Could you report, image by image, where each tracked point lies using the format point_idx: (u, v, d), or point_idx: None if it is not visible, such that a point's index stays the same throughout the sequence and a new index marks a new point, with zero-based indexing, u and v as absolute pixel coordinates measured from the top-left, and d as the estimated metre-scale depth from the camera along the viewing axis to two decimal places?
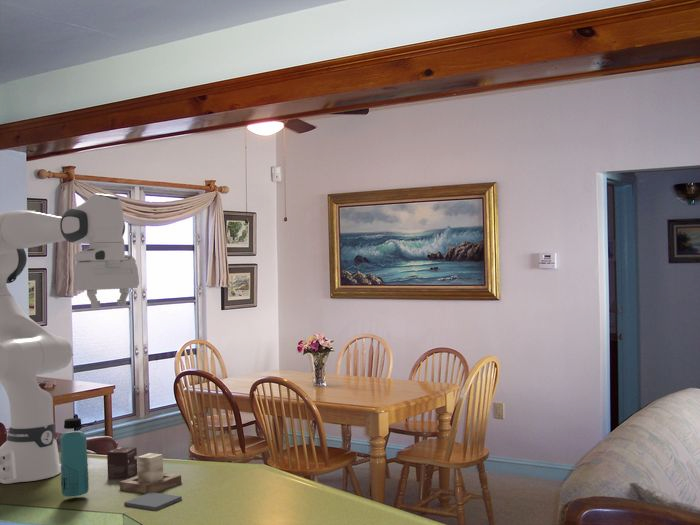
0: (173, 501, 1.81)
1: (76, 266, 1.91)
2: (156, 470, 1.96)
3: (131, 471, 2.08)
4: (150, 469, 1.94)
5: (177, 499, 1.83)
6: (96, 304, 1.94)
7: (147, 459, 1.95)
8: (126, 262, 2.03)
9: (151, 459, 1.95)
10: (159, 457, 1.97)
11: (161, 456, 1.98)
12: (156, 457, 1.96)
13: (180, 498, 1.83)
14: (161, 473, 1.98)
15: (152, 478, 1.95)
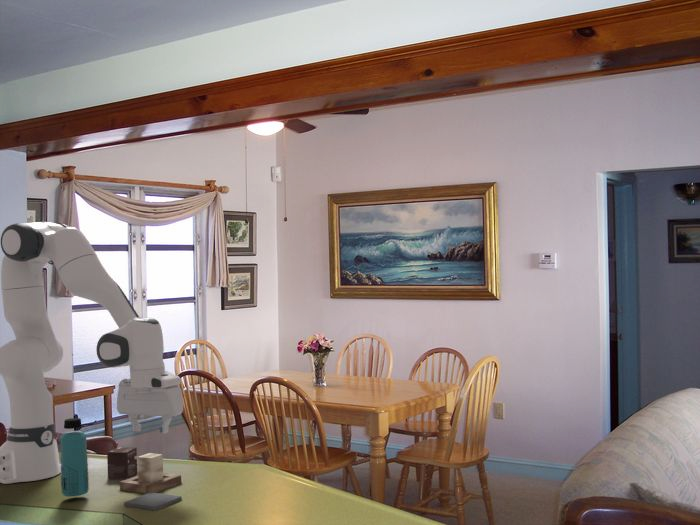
0: (173, 501, 1.81)
1: (171, 392, 1.92)
2: (156, 470, 1.96)
3: (131, 471, 2.08)
4: (150, 469, 1.94)
5: (177, 499, 1.83)
6: None
7: (147, 459, 1.95)
8: None
9: (151, 459, 1.95)
10: (160, 457, 1.97)
11: (161, 456, 1.98)
12: (156, 457, 1.96)
13: (180, 498, 1.83)
14: (161, 473, 1.98)
15: (152, 478, 1.95)
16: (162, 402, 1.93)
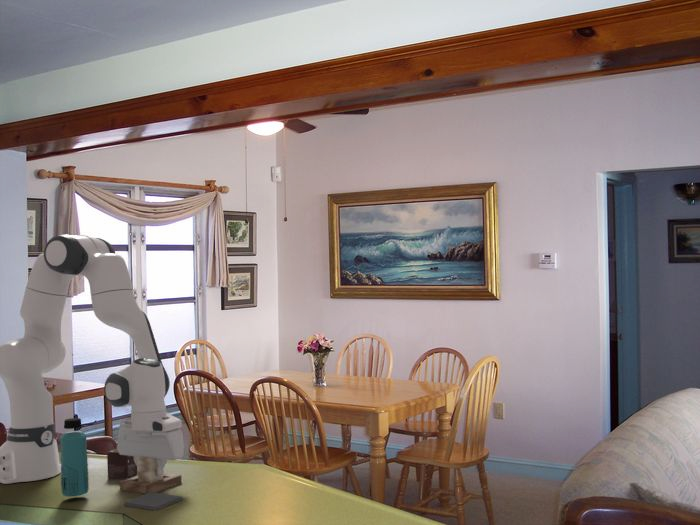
0: (173, 501, 1.81)
1: (172, 436, 1.92)
2: None
3: (131, 471, 2.08)
4: (150, 469, 1.94)
5: (177, 499, 1.83)
6: None
7: (147, 459, 1.95)
8: None
9: (151, 459, 1.95)
10: None
11: None
12: None
13: (180, 498, 1.83)
14: None
15: (152, 478, 1.95)
16: (163, 445, 1.93)
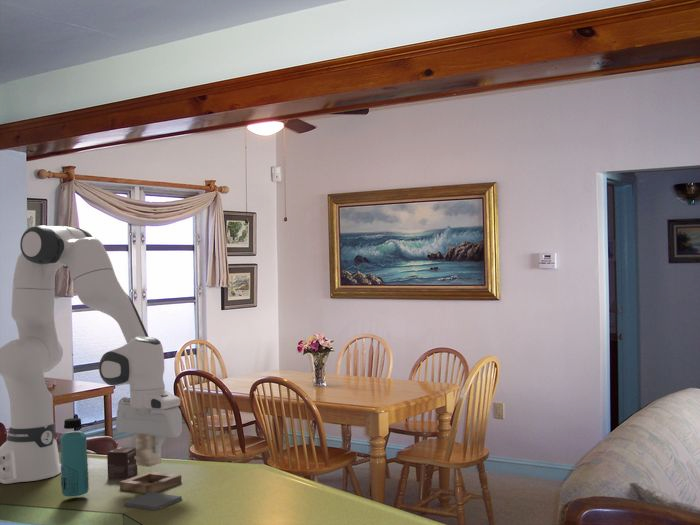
0: (173, 501, 1.81)
1: (171, 413, 1.92)
2: None
3: (131, 471, 2.08)
4: (148, 446, 1.94)
5: (177, 499, 1.83)
6: None
7: (145, 436, 1.95)
8: None
9: (149, 436, 1.95)
10: None
11: None
12: None
13: (180, 498, 1.83)
14: None
15: (150, 455, 1.95)
16: (161, 423, 1.93)
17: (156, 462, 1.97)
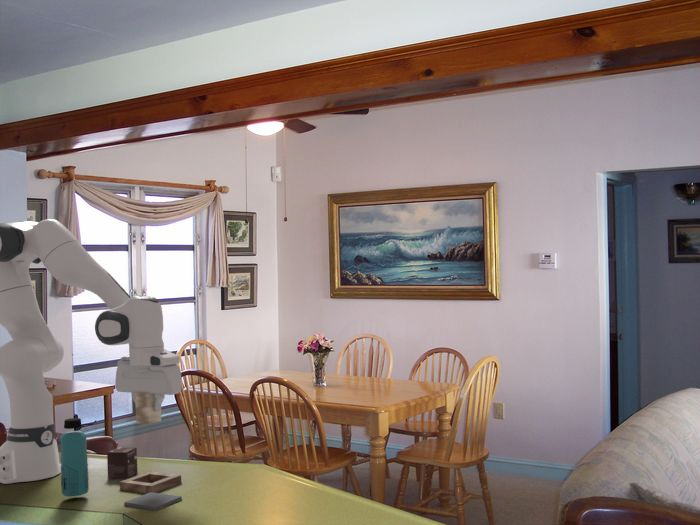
0: (173, 501, 1.81)
1: (170, 370, 1.92)
2: None
3: (131, 471, 2.08)
4: (148, 404, 1.95)
5: (177, 499, 1.83)
6: None
7: (145, 394, 1.95)
8: None
9: (149, 394, 1.95)
10: None
11: None
12: None
13: (180, 498, 1.83)
14: None
15: (150, 413, 1.95)
16: (161, 380, 1.93)
17: (156, 420, 1.97)
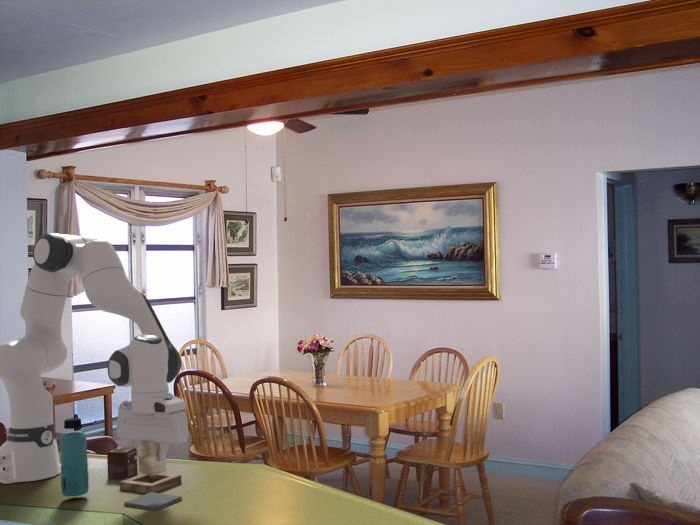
0: (173, 501, 1.81)
1: (176, 418, 1.77)
2: None
3: (131, 471, 2.08)
4: (152, 454, 1.80)
5: (177, 499, 1.83)
6: None
7: (149, 443, 1.80)
8: None
9: (153, 443, 1.80)
10: None
11: None
12: None
13: (180, 498, 1.83)
14: None
15: (154, 463, 1.80)
16: (165, 428, 1.78)
17: (161, 470, 1.82)
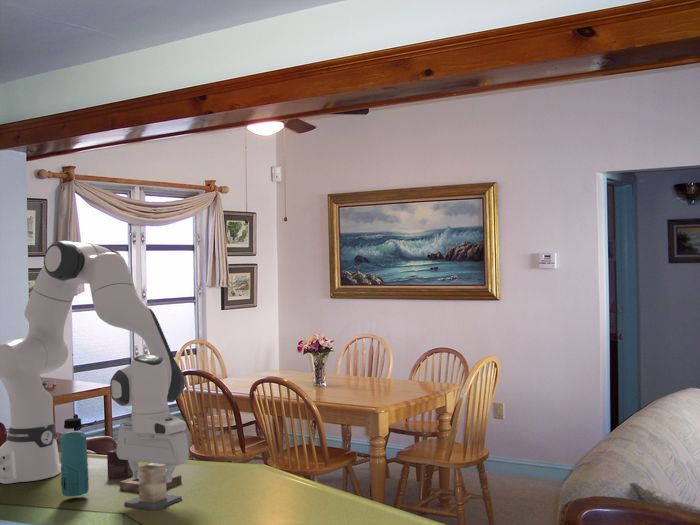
0: (173, 501, 1.81)
1: (176, 439, 1.77)
2: (158, 481, 1.81)
3: (131, 471, 2.08)
4: (152, 481, 1.80)
5: (177, 499, 1.83)
6: None
7: (149, 470, 1.80)
8: None
9: (153, 470, 1.80)
10: (162, 468, 1.83)
11: (164, 466, 1.83)
12: (159, 468, 1.81)
13: (180, 498, 1.83)
14: (164, 485, 1.83)
15: (154, 490, 1.80)
16: (166, 449, 1.78)
17: (161, 497, 1.82)
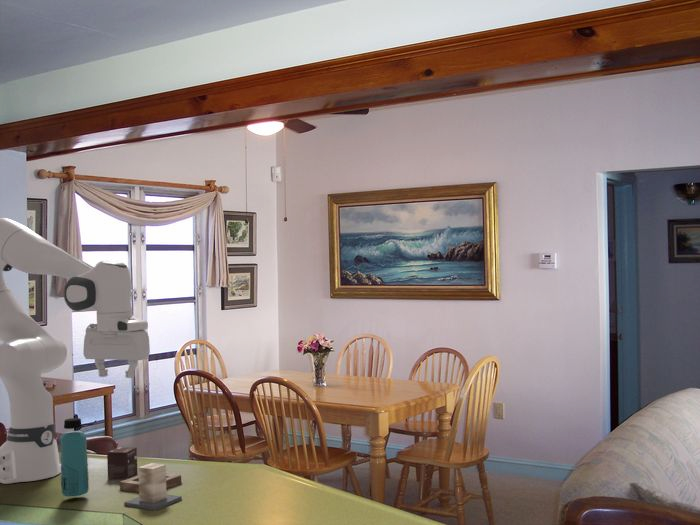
0: (173, 501, 1.81)
1: (137, 336, 1.89)
2: (158, 481, 1.81)
3: (131, 471, 2.08)
4: (152, 481, 1.80)
5: (177, 499, 1.83)
6: None
7: (149, 470, 1.80)
8: None
9: (153, 470, 1.80)
10: (162, 468, 1.83)
11: (164, 466, 1.83)
12: (159, 468, 1.81)
13: (180, 498, 1.83)
14: (164, 485, 1.83)
15: (154, 490, 1.80)
16: (128, 346, 1.90)
17: (161, 497, 1.82)
